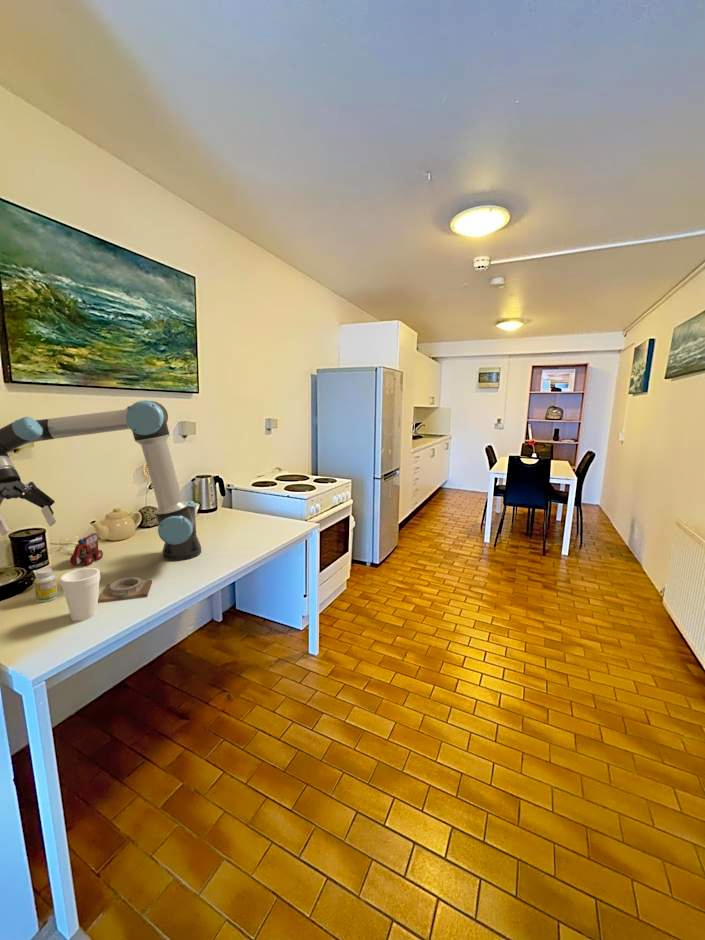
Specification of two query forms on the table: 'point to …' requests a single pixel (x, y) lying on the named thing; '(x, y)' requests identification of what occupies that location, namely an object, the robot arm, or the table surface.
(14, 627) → the table surface
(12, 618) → the table surface
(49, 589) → the supplement bottle
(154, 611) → the table surface
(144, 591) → the socket board
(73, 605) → the foam cup
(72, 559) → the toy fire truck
